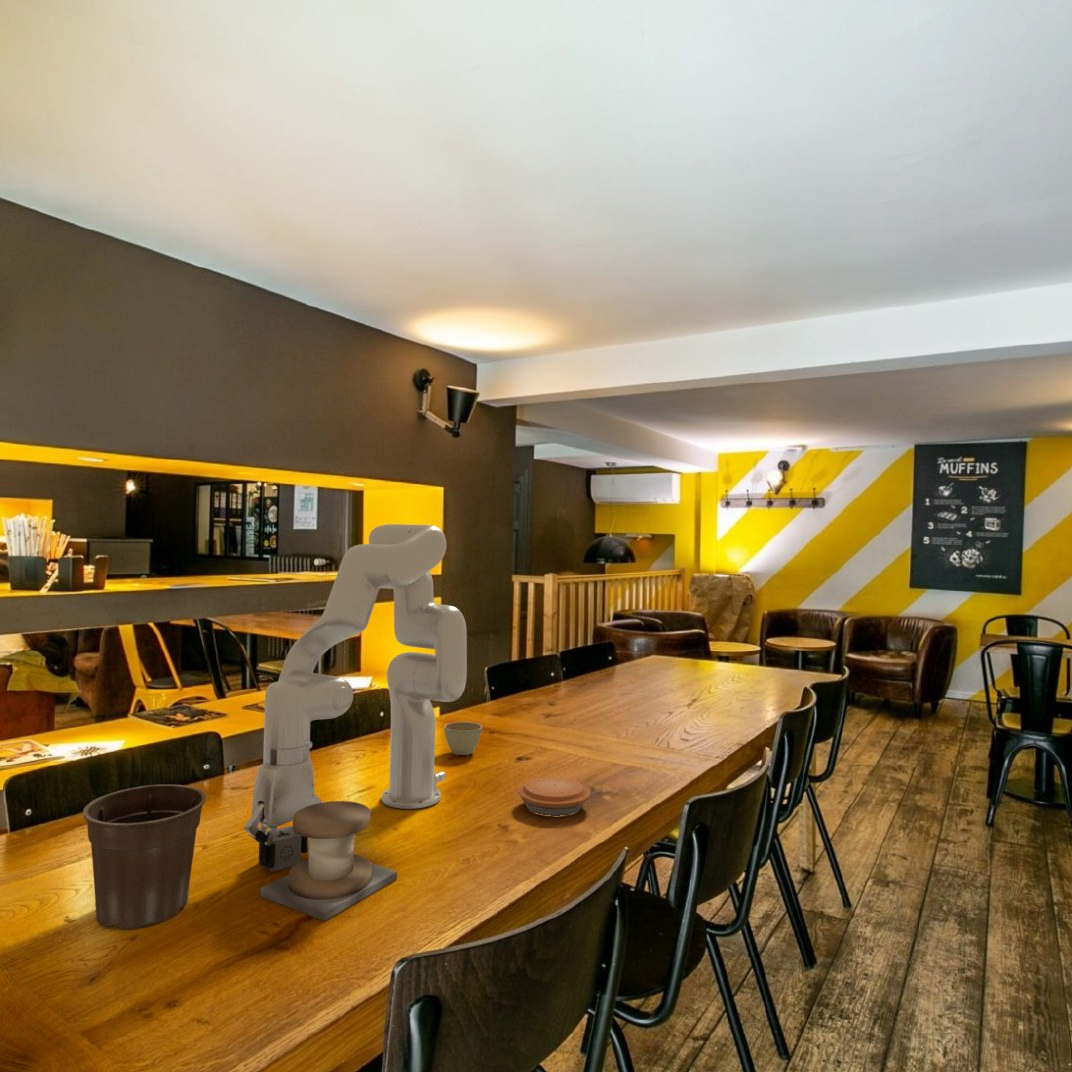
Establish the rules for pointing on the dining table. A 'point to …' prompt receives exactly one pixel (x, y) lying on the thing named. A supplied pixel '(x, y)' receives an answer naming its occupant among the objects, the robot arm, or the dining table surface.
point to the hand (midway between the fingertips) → (283, 857)
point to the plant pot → (143, 852)
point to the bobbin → (329, 863)
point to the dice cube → (286, 848)
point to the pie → (553, 795)
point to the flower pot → (462, 737)
